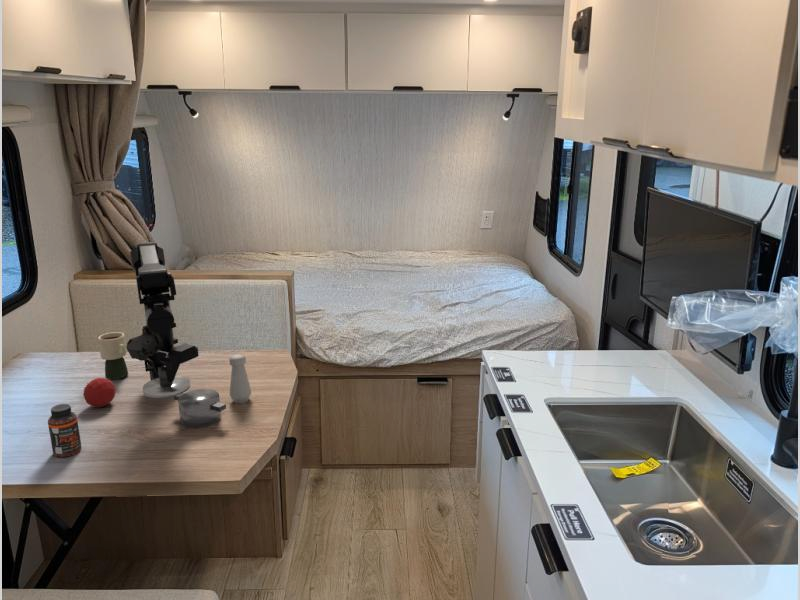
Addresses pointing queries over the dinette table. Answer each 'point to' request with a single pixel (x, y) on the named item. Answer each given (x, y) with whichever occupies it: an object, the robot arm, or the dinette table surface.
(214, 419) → the cooker pot
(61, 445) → the supplement bottle
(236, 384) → the salt shaker
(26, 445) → the dinette table surface
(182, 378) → the cooker lid
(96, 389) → the tomato
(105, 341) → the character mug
